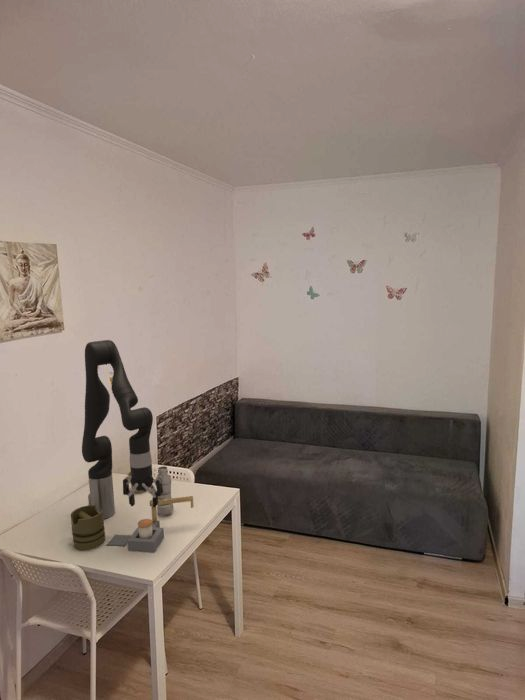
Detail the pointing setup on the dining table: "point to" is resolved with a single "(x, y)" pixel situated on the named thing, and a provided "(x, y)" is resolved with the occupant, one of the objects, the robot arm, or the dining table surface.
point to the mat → (118, 540)
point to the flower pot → (132, 485)
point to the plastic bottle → (165, 492)
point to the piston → (87, 528)
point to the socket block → (147, 544)
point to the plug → (145, 528)
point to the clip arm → (174, 501)
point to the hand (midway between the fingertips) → (144, 505)
